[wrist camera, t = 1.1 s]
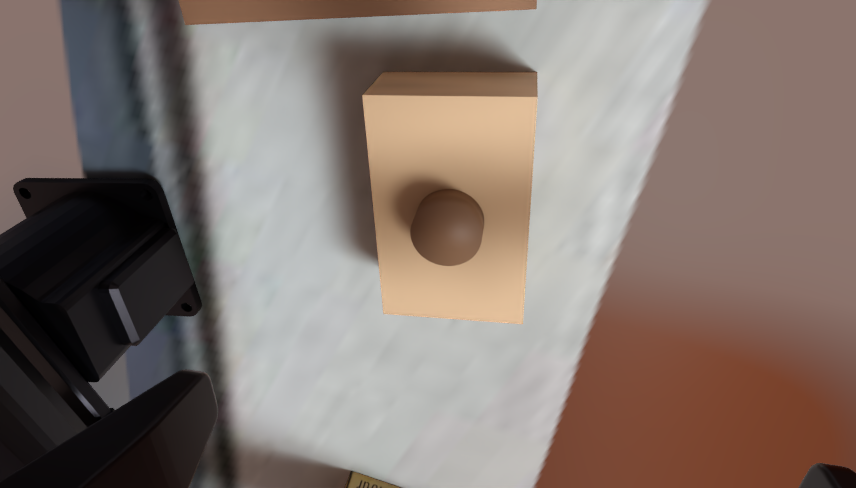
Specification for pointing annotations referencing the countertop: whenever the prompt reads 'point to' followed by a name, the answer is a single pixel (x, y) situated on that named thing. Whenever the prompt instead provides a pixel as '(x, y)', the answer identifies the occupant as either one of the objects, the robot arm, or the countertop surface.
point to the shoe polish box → (366, 482)
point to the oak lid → (452, 191)
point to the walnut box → (331, 9)
